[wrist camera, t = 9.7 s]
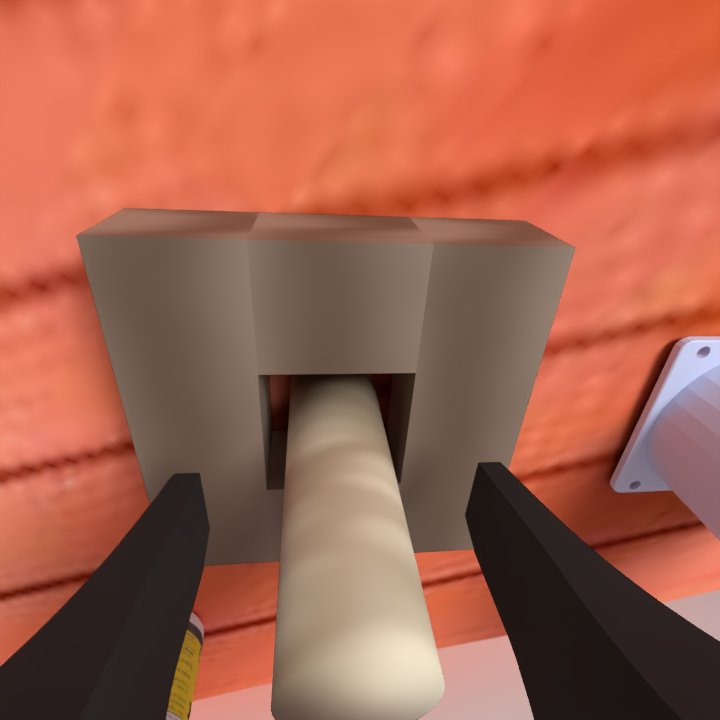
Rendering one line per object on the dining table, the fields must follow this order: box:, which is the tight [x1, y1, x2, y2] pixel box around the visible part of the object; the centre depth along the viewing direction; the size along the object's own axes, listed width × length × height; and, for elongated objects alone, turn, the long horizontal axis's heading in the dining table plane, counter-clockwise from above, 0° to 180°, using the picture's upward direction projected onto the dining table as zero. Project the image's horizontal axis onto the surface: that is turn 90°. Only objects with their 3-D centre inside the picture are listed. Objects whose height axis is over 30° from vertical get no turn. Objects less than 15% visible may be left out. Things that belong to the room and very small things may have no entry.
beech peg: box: [271, 374, 445, 720], centre depth 12 cm, size 3×3×10 cm
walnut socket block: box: [76, 208, 575, 566], centre depth 15 cm, size 12×12×3 cm
